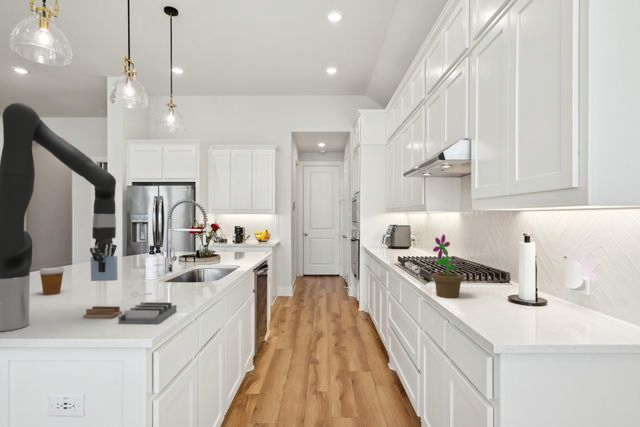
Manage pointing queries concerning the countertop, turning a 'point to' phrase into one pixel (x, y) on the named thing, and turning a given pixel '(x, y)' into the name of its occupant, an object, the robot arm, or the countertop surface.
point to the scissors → (134, 296)
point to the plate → (109, 272)
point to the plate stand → (102, 312)
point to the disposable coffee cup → (51, 280)
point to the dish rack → (147, 313)
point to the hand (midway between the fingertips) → (103, 271)
